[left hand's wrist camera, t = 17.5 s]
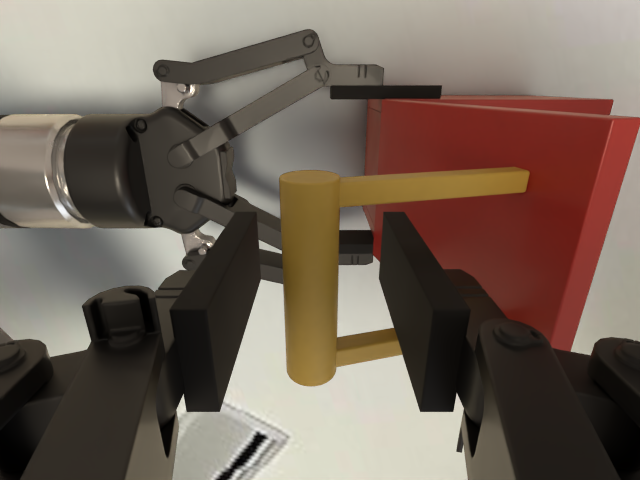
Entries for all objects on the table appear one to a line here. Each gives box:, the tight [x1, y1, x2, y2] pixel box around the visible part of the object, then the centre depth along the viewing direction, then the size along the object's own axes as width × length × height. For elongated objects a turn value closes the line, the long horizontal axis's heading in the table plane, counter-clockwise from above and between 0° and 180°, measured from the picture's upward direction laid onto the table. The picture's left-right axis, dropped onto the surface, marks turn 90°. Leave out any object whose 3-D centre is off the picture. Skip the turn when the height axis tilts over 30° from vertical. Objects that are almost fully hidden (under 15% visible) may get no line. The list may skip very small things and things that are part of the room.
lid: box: [279, 100, 640, 386], centre depth 16 cm, size 13×9×9 cm
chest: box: [363, 95, 613, 237], centre depth 28 cm, size 13×9×9 cm
